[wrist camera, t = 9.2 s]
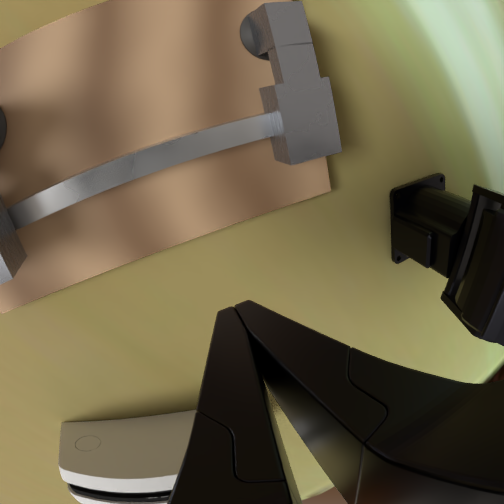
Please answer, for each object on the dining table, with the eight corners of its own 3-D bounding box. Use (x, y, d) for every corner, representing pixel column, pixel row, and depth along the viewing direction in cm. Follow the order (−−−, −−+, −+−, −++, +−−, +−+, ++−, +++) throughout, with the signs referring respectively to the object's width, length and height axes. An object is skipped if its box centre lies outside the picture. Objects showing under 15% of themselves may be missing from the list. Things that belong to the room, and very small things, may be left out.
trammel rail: (287, 13, 14) (310, 1, 12) (316, 146, 18) (341, 151, 16) (-60, 138, 10) (-84, 143, 8) (-12, 267, 14) (-28, 288, 12)
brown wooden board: (275, -21, 14) (285, -28, 13) (321, 187, 21) (332, 192, 19) (-69, 103, 10) (-80, 104, 8) (6, 303, 16) (0, 315, 15)
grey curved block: (77, 452, 23) (66, 525, 13) (62, 412, 22) (39, 482, 13) (243, 431, 28) (285, 495, 19) (239, 391, 28) (284, 452, 18)
